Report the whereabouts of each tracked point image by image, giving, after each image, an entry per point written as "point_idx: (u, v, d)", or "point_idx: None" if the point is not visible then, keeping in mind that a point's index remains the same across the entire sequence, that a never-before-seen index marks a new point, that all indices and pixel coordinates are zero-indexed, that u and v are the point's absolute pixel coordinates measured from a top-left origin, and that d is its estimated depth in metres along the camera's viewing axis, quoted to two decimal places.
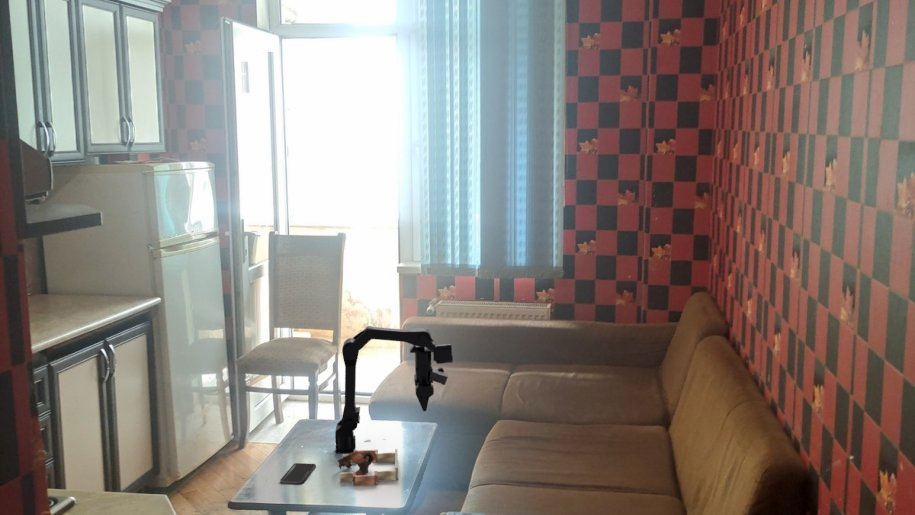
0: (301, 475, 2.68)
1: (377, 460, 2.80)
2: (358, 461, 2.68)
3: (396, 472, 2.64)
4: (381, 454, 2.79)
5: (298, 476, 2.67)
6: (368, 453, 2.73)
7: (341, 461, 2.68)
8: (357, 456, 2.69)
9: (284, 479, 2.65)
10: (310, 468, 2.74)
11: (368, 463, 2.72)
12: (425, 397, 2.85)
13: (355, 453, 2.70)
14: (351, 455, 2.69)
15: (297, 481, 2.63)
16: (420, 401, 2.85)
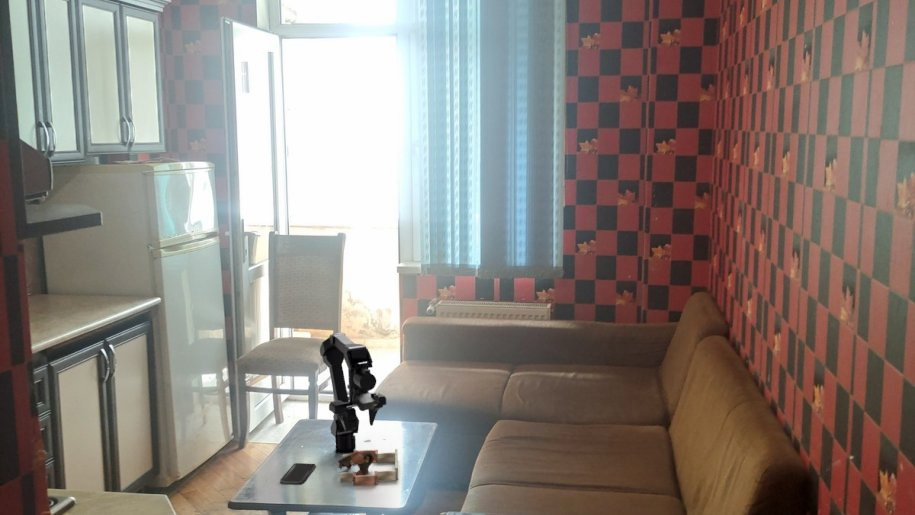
0: (301, 475, 2.68)
1: (377, 460, 2.80)
2: (358, 462, 2.67)
3: (396, 472, 2.64)
4: (381, 454, 2.79)
5: (298, 476, 2.67)
6: (368, 453, 2.72)
7: (341, 462, 2.68)
8: (357, 457, 2.69)
9: (284, 479, 2.65)
10: (310, 468, 2.74)
11: (368, 463, 2.72)
12: None
13: (355, 453, 2.69)
14: (351, 456, 2.68)
15: (297, 481, 2.63)
16: (340, 418, 2.74)
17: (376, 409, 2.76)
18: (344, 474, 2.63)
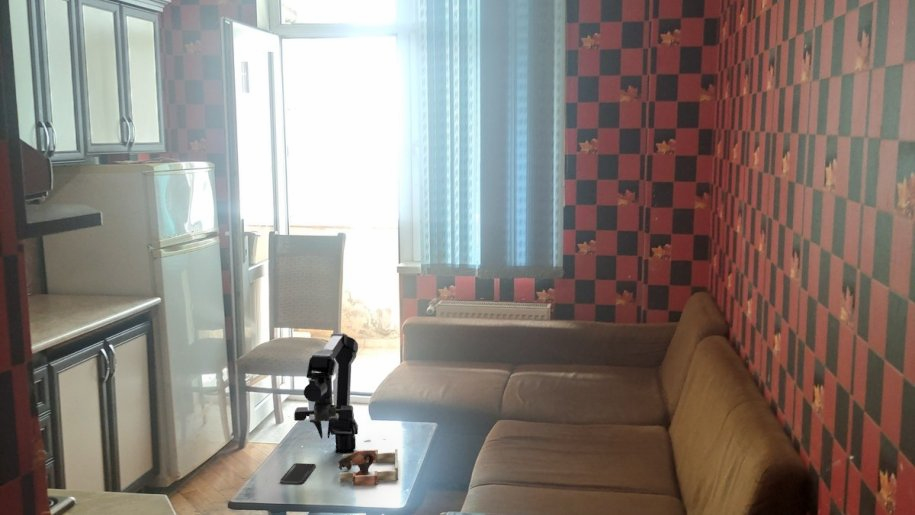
0: (301, 475, 2.68)
1: (377, 460, 2.80)
2: (358, 462, 2.67)
3: (396, 472, 2.64)
4: (381, 454, 2.79)
5: (298, 476, 2.67)
6: (368, 454, 2.72)
7: (341, 462, 2.68)
8: (357, 457, 2.68)
9: (284, 479, 2.65)
10: (310, 468, 2.74)
11: (368, 464, 2.71)
12: None
13: (355, 454, 2.69)
14: (351, 456, 2.68)
15: (297, 481, 2.63)
16: None
17: (330, 422, 2.67)
18: (344, 474, 2.63)
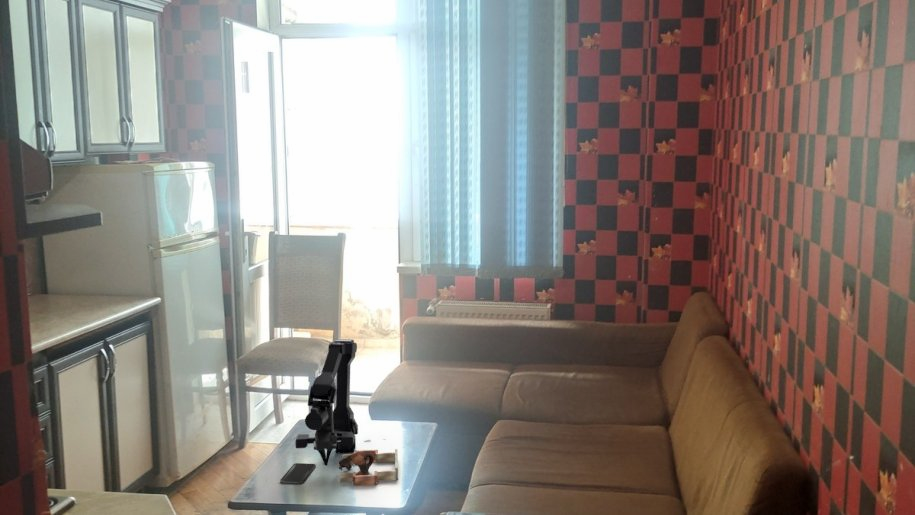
0: (301, 475, 2.68)
1: (377, 460, 2.80)
2: (359, 462, 2.67)
3: (396, 472, 2.64)
4: (381, 454, 2.79)
5: (298, 476, 2.67)
6: (368, 454, 2.71)
7: (342, 463, 2.67)
8: (358, 457, 2.68)
9: (284, 479, 2.65)
10: (310, 468, 2.74)
11: (369, 464, 2.71)
12: None
13: (356, 454, 2.69)
14: (352, 456, 2.67)
15: (297, 481, 2.63)
16: None
17: (328, 449, 2.68)
18: (344, 474, 2.63)
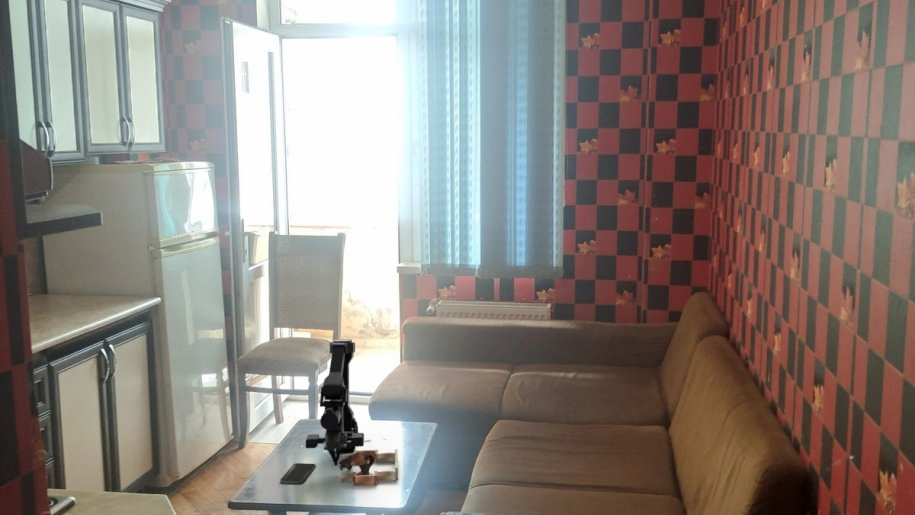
0: (301, 475, 2.68)
1: (377, 460, 2.80)
2: (359, 463, 2.66)
3: (396, 472, 2.64)
4: (381, 454, 2.79)
5: (298, 476, 2.67)
6: (369, 455, 2.71)
7: (342, 463, 2.67)
8: (358, 458, 2.67)
9: (284, 479, 2.65)
10: (310, 468, 2.74)
11: (369, 465, 2.70)
12: None
13: (356, 455, 2.68)
14: (352, 457, 2.67)
15: (297, 481, 2.63)
16: None
17: (338, 450, 2.68)
18: (344, 474, 2.63)
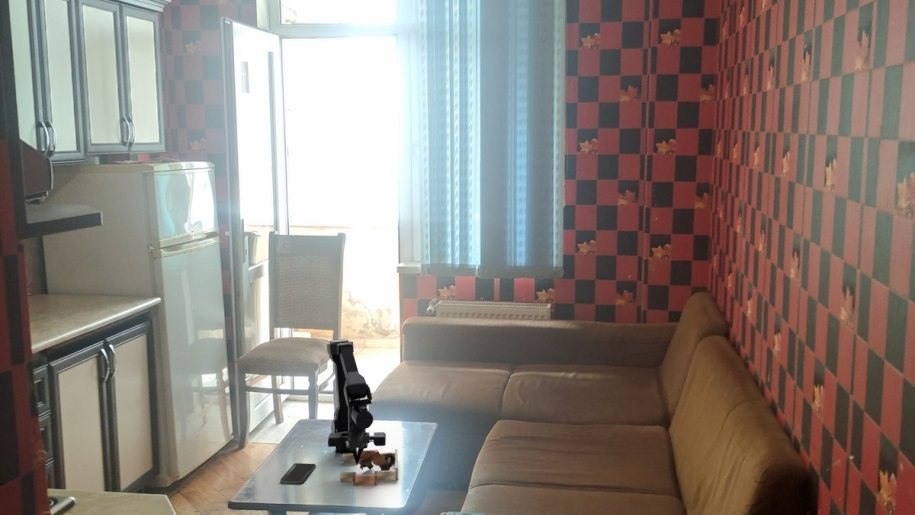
0: (301, 475, 2.68)
1: None
2: (380, 462, 2.66)
3: (396, 472, 2.64)
4: (381, 454, 2.79)
5: (298, 476, 2.67)
6: (390, 454, 2.71)
7: (363, 462, 2.67)
8: (379, 457, 2.67)
9: (284, 479, 2.65)
10: (310, 468, 2.74)
11: (390, 464, 2.70)
12: None
13: (377, 454, 2.68)
14: (373, 456, 2.67)
15: (297, 481, 2.63)
16: None
17: (360, 449, 2.69)
18: (344, 474, 2.63)
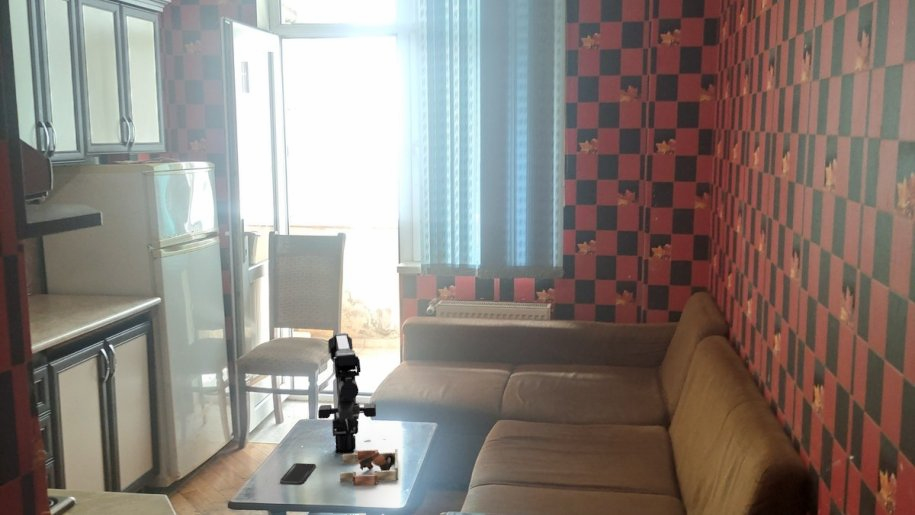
0: (301, 475, 2.68)
1: None
2: (380, 463, 2.66)
3: (396, 472, 2.64)
4: (381, 454, 2.79)
5: (298, 476, 2.67)
6: (390, 455, 2.71)
7: (363, 462, 2.67)
8: (379, 457, 2.68)
9: (284, 479, 2.65)
10: (310, 468, 2.74)
11: (390, 465, 2.70)
12: None
13: (377, 454, 2.68)
14: (373, 456, 2.67)
15: (297, 481, 2.63)
16: None
17: (351, 420, 2.69)
18: (344, 474, 2.63)
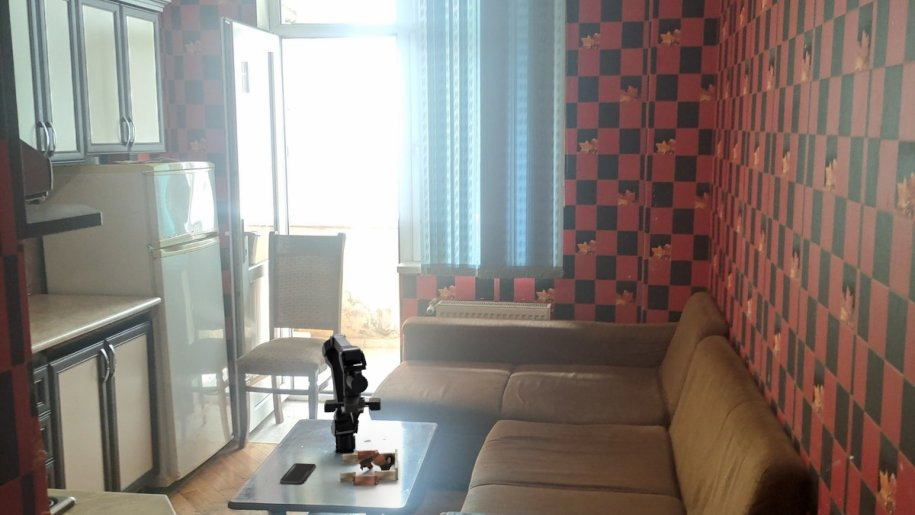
0: (301, 475, 2.68)
1: None
2: (380, 463, 2.66)
3: (396, 472, 2.64)
4: (381, 454, 2.79)
5: (298, 476, 2.67)
6: (390, 455, 2.71)
7: (363, 462, 2.67)
8: (379, 458, 2.67)
9: (284, 479, 2.65)
10: (310, 468, 2.74)
11: (390, 465, 2.70)
12: None
13: (377, 454, 2.68)
14: (373, 456, 2.67)
15: (297, 481, 2.63)
16: None
17: (356, 414, 2.74)
18: (344, 474, 2.63)
